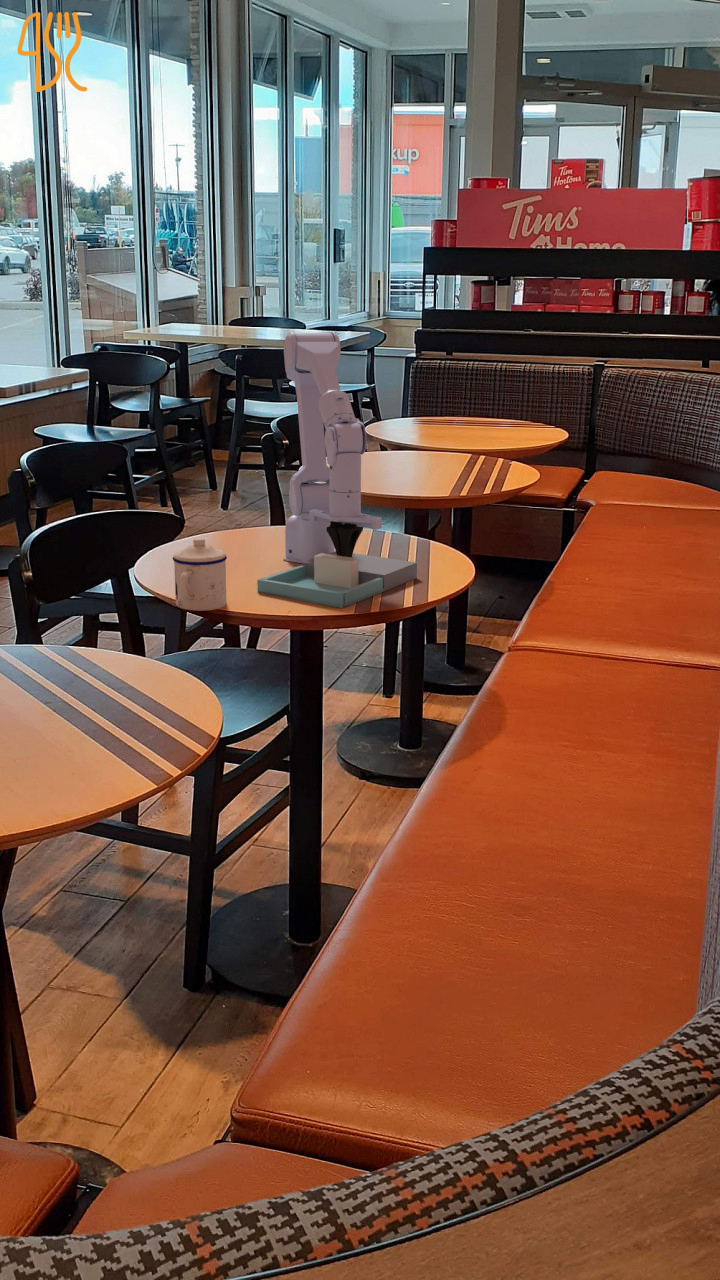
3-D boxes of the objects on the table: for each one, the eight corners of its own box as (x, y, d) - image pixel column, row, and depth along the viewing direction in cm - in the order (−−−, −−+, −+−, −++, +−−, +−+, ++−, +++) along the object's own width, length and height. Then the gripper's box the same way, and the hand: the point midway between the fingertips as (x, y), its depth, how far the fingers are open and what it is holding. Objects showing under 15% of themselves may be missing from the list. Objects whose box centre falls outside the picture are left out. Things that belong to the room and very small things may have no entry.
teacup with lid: (188, 597, 201) (185, 532, 198) (236, 601, 199) (234, 535, 195) (157, 614, 190) (154, 546, 187) (208, 619, 188) (206, 550, 184)
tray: (257, 593, 204) (257, 579, 203) (302, 577, 215) (302, 564, 214) (341, 608, 195) (341, 594, 194) (384, 591, 206) (384, 577, 205)
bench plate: (302, 577, 215) (302, 562, 214) (337, 565, 225) (337, 550, 224) (384, 591, 206) (384, 575, 205) (416, 578, 216) (417, 562, 215)
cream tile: (322, 579, 212) (314, 582, 210) (321, 553, 210) (313, 555, 208) (358, 585, 208) (351, 588, 206) (358, 558, 206) (350, 561, 204)
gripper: (299, 489, 207) (300, 562, 211) (367, 497, 199) (366, 572, 203) (321, 484, 212) (321, 555, 216) (388, 491, 205) (386, 565, 209)
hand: (344, 563), depth 210 cm, fingers closed
